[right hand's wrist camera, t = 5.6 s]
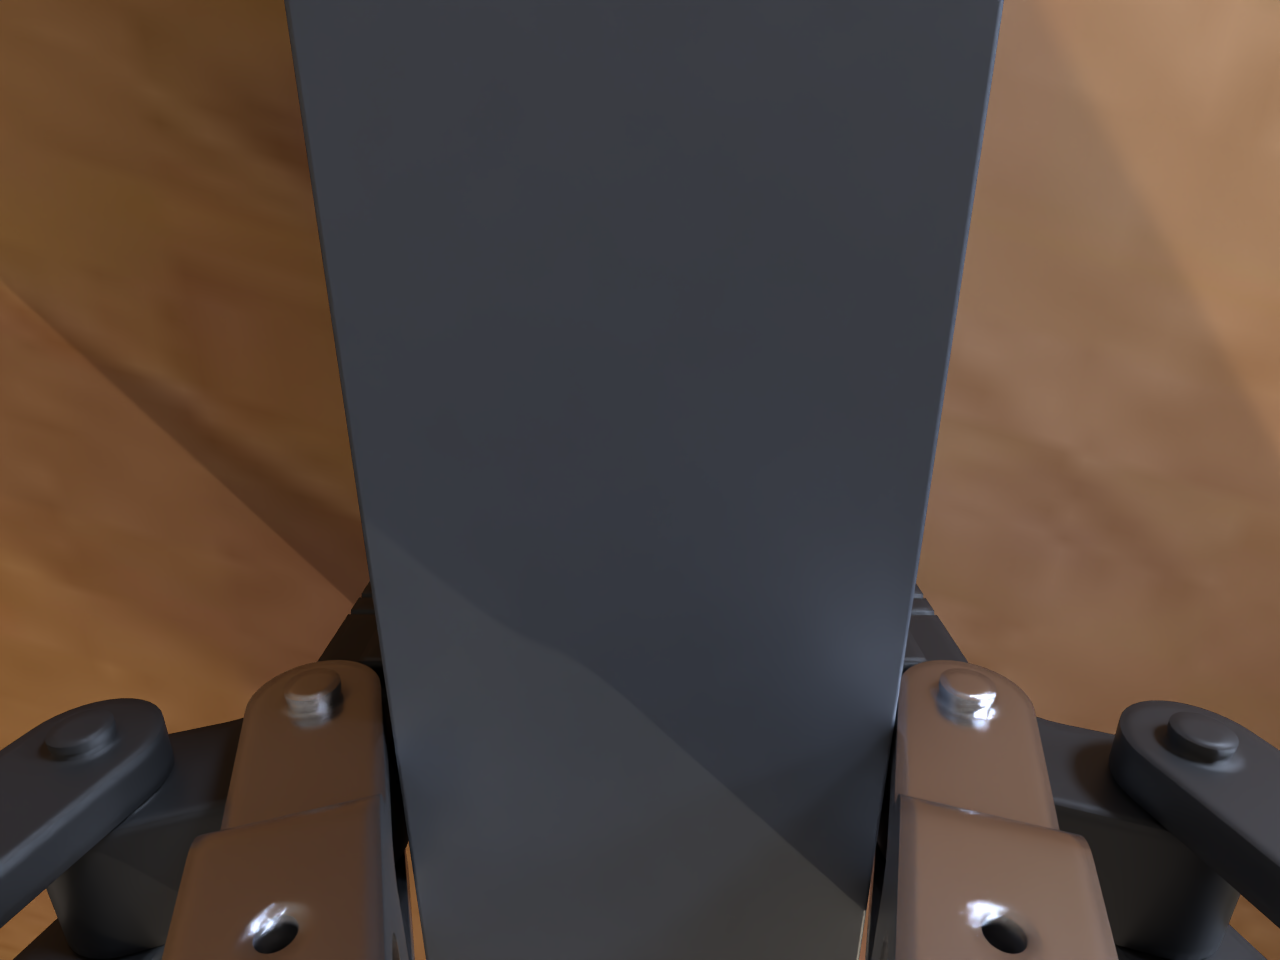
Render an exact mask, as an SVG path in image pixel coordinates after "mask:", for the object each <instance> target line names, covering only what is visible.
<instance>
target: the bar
mask: <svg viewBox="0 0 1280 960" xmlns="http://www.w3.org/2000/svg"><path fill="white" fill-rule="evenodd" d="M284 2H285V9H286V16H287V22H288V29H289V36H290V43H291V49H292V56H293V63H294V70H295V77H296V83H297V90H298V97H299V104H300V110H301V117H302V124H303V131H304V137H305V144H306V151H307V158H308V164H309V171H310V178H311V185H312V191H313V198H314V205H315V212H316V218H317V225H318V232H319V239H320V245H321V252H322V259H323V266H324V272H325V279H326V286H327V293H328V299H329V306H330V313H331V320H332V326H333V333H334V340H335V347H336V354H337V360H338V367H339V374H340V381H341V387H342V394H343V401H344V408H345V414H346V421H347V428H348V435H349V441H350V448H351V455H352V462H353V468H354V475H355V482H356V489H357V495H358V502H359V509H360V516H361V522H362V529H363V536H364V543H365V549H366V556H367V563H368V570H369V576H370V583H371V590H372V597H373V603H374V610H375V617H376V624H377V630H378V637H379V644H380V651H381V658H382V664H383V671H384V678H385V685H386V691H387V698H388V705H389V712H390V718H391V725H392V732H393V739H394V745H395V752H396V759H397V766H398V772H399V779H400V786H401V793H402V799H403V806H404V813H405V820H406V826H407V833H408V840H409V847H410V853H411V860H412V867H413V874H414V880H415V887H416V894H417V901H418V907H419V914H420V921H421V928H422V935H423V941H424V948H425V955H426V960H859V955H860V948H861V942H862V935H863V928H864V922H865V915H866V909H867V902H868V895H869V889H870V882H871V876H872V869H873V862H874V856H875V849H876V842H877V836H878V829H879V823H880V816H881V809H882V803H883V796H884V790H885V783H886V776H887V770H888V763H889V756H890V750H891V743H892V737H893V730H894V723H895V717H896V710H897V704H898V697H899V690H900V684H901V677H902V670H903V664H904V657H905V651H906V644H907V637H908V631H909V624H910V618H911V611H912V604H913V598H914V591H915V584H916V578H917V571H918V565H919V558H920V551H921V545H922V538H923V532H924V525H925V518H926V512H927V505H928V498H929V492H930V485H931V479H932V472H933V465H934V459H935V452H936V446H937V439H938V432H939V426H940V419H941V412H942V406H943V399H944V393H945V386H946V379H947V373H948V366H949V360H950V353H951V346H952V340H953V333H954V326H955V320H956V313H957V307H958V300H959V293H960V287H961V280H962V274H963V267H964V260H965V254H966V247H967V240H968V234H969V227H970V221H971V214H972V207H973V201H974V194H975V188H976V181H977V174H978V168H979V161H980V154H981V148H982V141H983V135H984V128H985V121H986V115H987V108H988V102H989V95H990V88H991V82H992V75H993V68H994V62H995V55H996V49H997V42H998V35H999V29H1000V22H1001V16H1002V9H1003V2H1004V0H284Z"/></svg>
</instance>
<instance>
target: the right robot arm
mask: <svg viewBox="0 0 1280 960" xmlns="http://www.w3.org/2000/svg"><path fill="white" fill-rule="evenodd" d="M407 843H408V833H407V826H406V820H405V813H404V806H403V799H402V793H401V786H400V779H399V772H398V766H397V759H396V752H395V745H394V739H393V732H392V725H391V718H390V712H389V705H388V698H387V691H386V685H385V678H384V671H383V664H382V658H381V651H380V644H379V637H378V630H377V624H376V617H375V610H374V603H373V597H372V590H371V583H370V582H369V583H368V585H367V586H366V588H365V590H364V591H363V593H362V598H359V599H358V600H357V602H356V603H355V605H354V606H353V608H352V609H351V614H348V616H347V617H346V619H345V620H344V622H343V623H342V625H341V626H340V628H339V629H338V631H337V633H336V634H335V636H334V637H333V639H332V640H331V642H330V643H329V645H328V646H327V648H326V649H325V651H324V652H323V654H322V656H321V657H320V659H319V660H318V662H314V663H310V664H306V665H302V666H299V667H296V668H293V669H291V670H289V671H286V672H284V673H282V674H280V675H278V676H276V677H274V678H273V679H271V680H270V681H268V682H267V683H265V684H264V685H263V686H262V687H261V688H259V689H258V690H257V692H256V693H255V694H254V695H253V696H252V697H251V699H250V701H249V702H248V704H247V707H246V710H245V714H244V718H241V719H238V720H234V721H230V722H226V723H221V724H216V725H211V726H206V727H201V728H196V729H192V730H187V731H182V732H177V733H172V734H168V732H167V728H166V725H165V721H164V718H163V715H162V712H161V710H160V709H159V708H158V707H157V706H156V705H154V704H152V703H151V702H148V701H145V700H140V699H133V698H121V699H110V700H104V701H99V702H95V703H91V704H87V705H83V706H80V707H77V708H75V709H72V710H69V711H67V712H64V713H62V714H59V715H57V716H55V717H53V718H51V719H49V720H47V721H45V722H43V723H42V724H40V725H38V726H37V727H35V728H34V729H32V730H30V731H29V732H27V733H26V734H24V735H23V736H21V737H20V738H19V739H17V740H16V741H14V742H13V743H11V744H10V745H8V746H7V747H5V748H4V749H2V750H1V751H0V928H1V927H2V926H4V925H5V924H6V923H7V922H8V921H9V920H10V919H12V918H13V917H14V916H15V915H16V914H17V913H18V912H20V911H21V910H22V909H23V908H24V907H25V906H26V905H27V904H29V903H30V902H31V901H32V900H33V899H34V898H35V897H37V896H38V895H39V894H40V893H41V892H42V891H43V890H45V889H47V892H48V894H49V897H50V899H51V902H52V904H53V907H54V910H55V912H56V915H57V917H58V918H57V919H56V920H55V921H54V922H53V923H52V924H51V925H50V926H49V927H48V928H46V929H45V930H44V931H43V932H42V933H41V934H40V935H39V936H38V937H37V938H36V939H35V940H34V941H32V942H31V943H30V944H29V945H28V946H27V947H26V948H25V949H24V950H23V951H22V952H21V953H20V954H18V955H17V956H16V957H15V958H14V959H13V960H415V956H414V941H413V927H412V913H411V899H410V885H409V871H408V862H407V856H406V849H405V848H406V846H407ZM1240 894H1241V895H1242V896H1243V897H1245V898H1246V899H1247V900H1248V901H1249V902H1250V903H1251V904H1253V905H1254V906H1255V907H1256V908H1257V909H1258V910H1259V911H1260V912H1262V913H1263V914H1264V915H1265V916H1266V917H1267V918H1268V919H1270V920H1271V921H1272V922H1273V923H1274V924H1275V925H1276V926H1278V927H1279V928H1280V751H1279V750H1278V749H1276V748H1275V747H1273V746H1272V745H1270V744H1269V743H1267V742H1266V741H1264V740H1263V739H1261V738H1260V737H1259V736H1257V735H1256V734H1254V733H1253V732H1251V731H1249V730H1248V729H1246V728H1244V727H1243V726H1241V725H1240V724H1238V723H1236V722H1234V721H1232V720H1230V719H1228V718H1226V717H1223V716H1221V715H1219V714H1216V713H1214V712H1211V711H1208V710H1205V709H1202V708H1199V707H1195V706H1192V705H1188V704H1183V703H1178V702H1171V701H1144V702H1139V703H1136V704H1133V705H1131V706H1129V707H1127V708H1126V709H1125V710H1124V711H1123V712H1122V714H1121V717H1120V720H1119V723H1118V727H1117V730H1116V734H1115V735H1113V734H1108V733H1104V732H1099V731H1094V730H1089V729H1084V728H1079V727H1074V726H1069V725H1065V724H1060V723H1056V722H1052V721H1048V720H1045V719H1042V718H1039V717H1036V714H1035V710H1034V707H1033V704H1032V702H1031V700H1030V699H1029V697H1028V696H1027V695H1026V694H1025V693H1024V691H1023V690H1022V689H1021V688H1019V687H1018V686H1017V685H1016V684H1015V683H1013V682H1012V681H1010V680H1009V679H1007V678H1006V677H1004V676H1002V675H1000V674H998V673H996V672H994V671H991V670H989V669H987V668H984V667H981V666H978V665H974V664H970V663H968V662H967V660H966V659H965V657H964V656H963V654H962V653H961V651H960V649H959V648H958V646H957V645H956V643H955V642H954V640H953V639H952V637H951V636H950V634H949V633H948V631H947V630H946V628H945V627H944V625H943V624H942V622H941V621H940V619H939V618H938V616H937V615H934V610H933V609H932V607H931V606H930V604H929V603H928V601H927V600H926V598H923V593H922V592H921V590H920V589H919V587H918V586H917V584H915V591H914V598H913V604H912V611H911V618H910V624H909V631H908V637H907V644H906V651H905V657H904V664H903V670H902V677H901V684H900V690H899V697H898V704H897V710H896V717H895V723H894V730H893V737H892V743H891V750H890V756H889V763H888V770H887V776H886V783H885V790H884V796H883V803H882V809H881V816H880V823H879V829H878V836H877V842H876V849H875V856H874V862H873V869H872V876H871V885H870V900H869V914H868V928H867V942H866V956H865V960H1267V959H1266V958H1265V957H1264V956H1263V955H1262V954H1260V953H1259V952H1258V951H1257V950H1256V949H1255V948H1254V947H1253V946H1252V945H1251V944H1250V943H1249V942H1248V941H1246V940H1245V939H1244V938H1243V937H1242V936H1241V935H1240V934H1239V933H1238V932H1237V931H1236V930H1235V929H1234V928H1232V927H1231V926H1230V925H1229V921H1230V919H1231V916H1232V914H1233V911H1234V909H1235V906H1236V904H1237V901H1238V899H1239V896H1240Z"/></svg>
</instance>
